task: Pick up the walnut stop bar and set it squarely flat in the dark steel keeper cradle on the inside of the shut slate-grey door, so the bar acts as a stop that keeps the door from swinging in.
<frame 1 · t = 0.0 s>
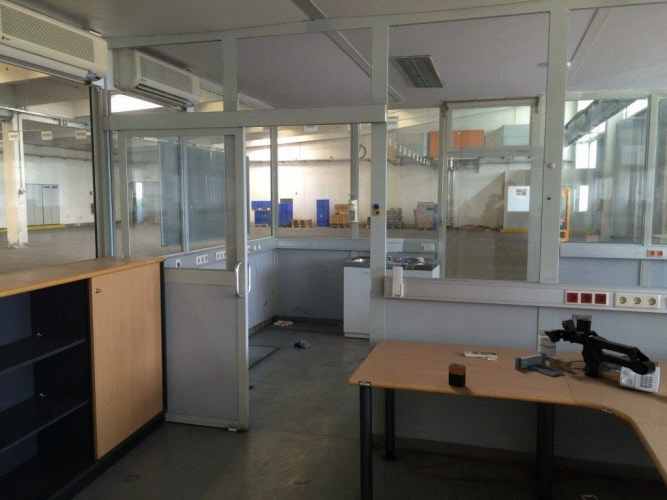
hand: (550, 331, 268), 17 cm above the table, tool horizontal, fingers open, 9 cm apart
ink box: (546, 357, 278), on the table
door frame: (530, 366, 261), on the table
battery: (456, 385, 233), on the table
keeper cradle: (545, 371, 253), on the table
door: (531, 361, 260), point 3 cm above the table, hinge at 0.0°
stop bar: (560, 368, 258), on the table
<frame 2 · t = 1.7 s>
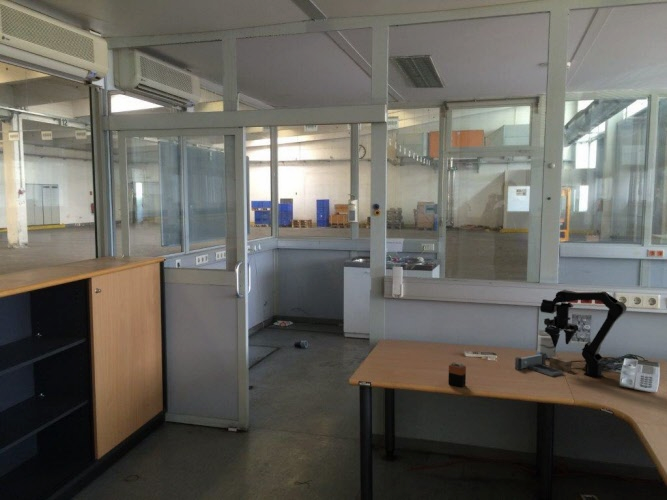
hand: (560, 345, 257), 12 cm above the table, tool pointing down, fingers open, 9 cm apart
nothing on the table moved.
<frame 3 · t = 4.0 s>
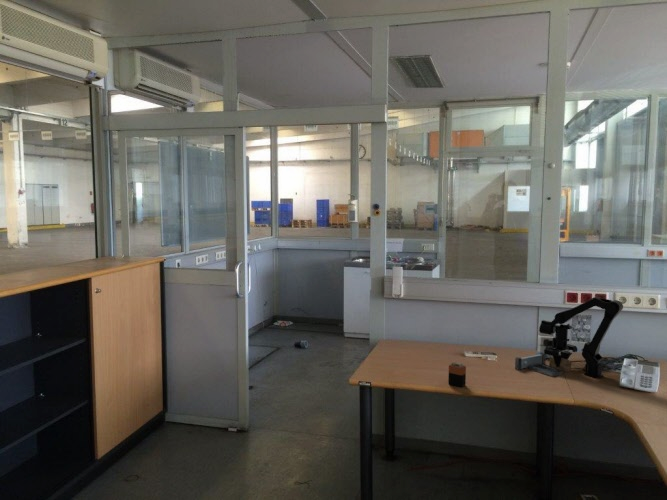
hand: (560, 366, 258), 1 cm above the table, tool pointing down, fingers closed on stop bar, 4 cm apart
stop bar: (560, 368, 258), on the table, touching gripper
everything else where it was.
when the fingers open (3 cm above the table, at t = 10.2 s): stop bar drops 2 cm, resting on keeper cradle.
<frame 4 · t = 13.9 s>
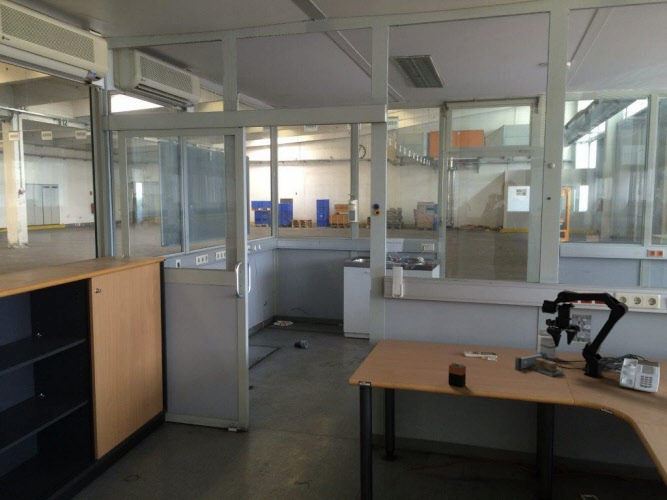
hand: (562, 345, 256), 12 cm above the table, tool pointing down, fingers open, 9 cm apart
stop bar: (545, 370, 253), resting on keeper cradle
everything else where it was.
at the end: stop bar 0.0 cm off-centre on the keeper cradle, point 0.4 cm above the keeper cradle's base; stop bar tilted 0°; door at +0° (first picture: +0°) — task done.
